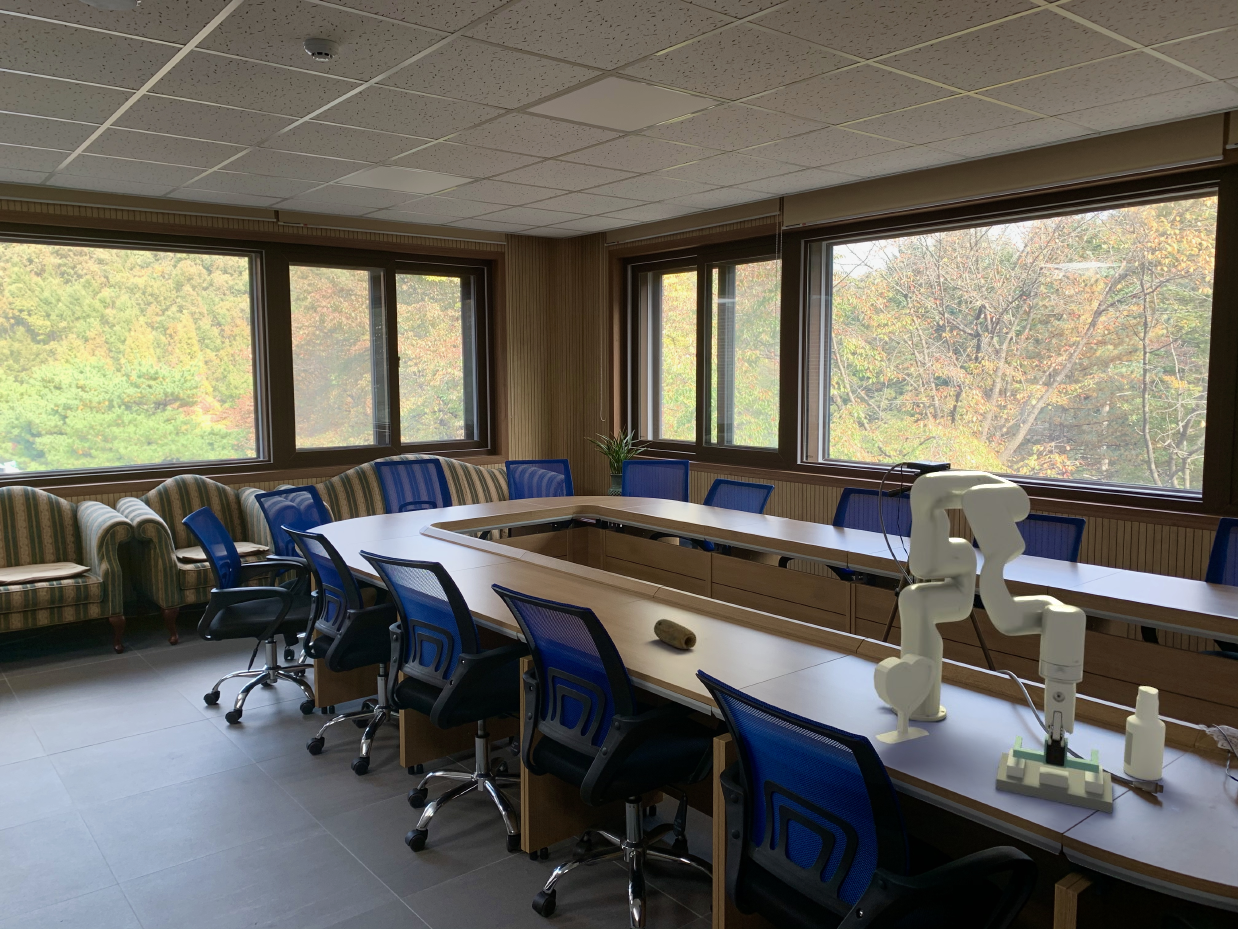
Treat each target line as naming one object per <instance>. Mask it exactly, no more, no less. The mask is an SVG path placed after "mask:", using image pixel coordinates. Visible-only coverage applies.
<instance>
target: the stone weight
mask: <svg viewBox="0 0 1238 929" xmlns="http://www.w3.org/2000/svg"><path fill="white" fill-rule="evenodd" d="M653 631H654V635H655V637H657V638H658V639H659V640H661V641H662V642H664V643H667V644H669V645H670V646H672V647H674V648H678V649H681V650H688V649H692V648H694V647H695V646H696V643H697V636H696V634H695V633H694V631H692V630H690V629H689V628H688V627H686V626H683V625H681V624H679V623H677V622H675V621H672V620H671V619H666V618H662V619H659V620H657V621H656V622H655V624H654V627H653Z"/></svg>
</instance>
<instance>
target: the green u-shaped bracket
mask: <svg viewBox="0 0 1238 929" xmlns="http://www.w3.org/2000/svg"><path fill="white" fill-rule="evenodd" d="M1044 735H1045V736H1044V744H1043V747H1044V748H1043V751H1041V750H1036V749H1031V748H1024V747H1022V746H1023V745H1022V744H1023V736H1022V735H1021V736H1020V735H1015V739H1014V744H1013V748H1012V749H1013V757H1015V758H1021V759H1026V760H1031V761H1036V762H1041V763H1043V764H1044V765H1050V766H1055V767H1060V768H1065V769H1066V767H1067V768H1073V769H1078V770H1083V771H1088V772H1093V773H1099V765H1100V758H1099V757H1100V756H1099V755H1100V754H1099V750H1098V749H1093V748H1092V749H1091V754H1090V758H1091V759H1090V760H1089V759H1084V758H1080V757H1079V758H1077V757H1073V756H1068V747H1069V746H1068V745H1069V744H1068V743H1069V738H1068V737H1066V736H1064V746H1065V758H1064V766H1056V765H1051V764H1047V763H1046V747H1047V743H1048V737H1049V733H1048V734H1047V733H1046V734H1044Z"/></svg>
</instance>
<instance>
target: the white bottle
mask: <svg viewBox="0 0 1238 929" xmlns="http://www.w3.org/2000/svg"><path fill="white" fill-rule="evenodd" d="M1159 706H1160V701H1159V690H1158V689H1157V688H1154V687H1151V686H1147V685H1146V686H1144V685H1140V686H1138V695H1137V696H1136V706H1135V710H1134V714H1132V715H1130V716H1128V717H1127V718H1126V725H1125V740H1124V752H1123V766H1122V768H1123V771H1124V772H1125V773H1126V774H1127V775H1129V776H1130V777H1132V778H1135V779H1139V780H1143V781H1151V782H1152V781H1159V780H1161V778H1162V777H1163V767H1164V766H1163V764H1164V754H1165V753H1164V752H1165V738H1166V728H1167V726H1166V724H1165V723H1164V722H1163V721H1162V720H1161V719H1159V712H1160V711H1159Z"/></svg>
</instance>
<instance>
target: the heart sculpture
mask: <svg viewBox="0 0 1238 929" xmlns="http://www.w3.org/2000/svg"><path fill="white" fill-rule="evenodd" d="M900 658H901V657H900ZM900 658H898V657H895V656H891V657H888V658H885V659H883V660H882V661H880V662H879V663H877V665H876V666H875V667H874V672H873V686H874V690H875V692H876V693H877V696H878V698H879V699H880V700H882V701H883V702H884V703H885V705H886V704H887V705H888V706H890V707H891V708H892V707H893V708H895V709H896V710H897V711H898V715H897V723H896V724H897V726H896V730H893V731H889V732H884V733H881V734H877V735H876V734H875V738H876V739H877V740H879V741H880V742H883V743H886V744H890V745H892V744H897V743H900V742H901V743H902V742H905V741H909V740H912V739H916V738H922V737H924V736H929V735H930V734H929V732H928V731H927V730H925V728H924V729H923V728H920V727H917V726H909V720H910V719H909V716H910V714H911V713H912V712H913V711H914V710H915V709H916V708H917V707H918V706H919V705H920V704H921V703H922V702H923V701H924V700H925V698H926V697H927V696H928V694H929V693H930V690H931V688H932V686H933V684H934V680H935V674H936V664H935V662H934V661H933V660H931V659H929V658H926V657H923V656H920V655H917V654H906V655H905V656H903V657H902V658H901V659H900Z"/></svg>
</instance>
